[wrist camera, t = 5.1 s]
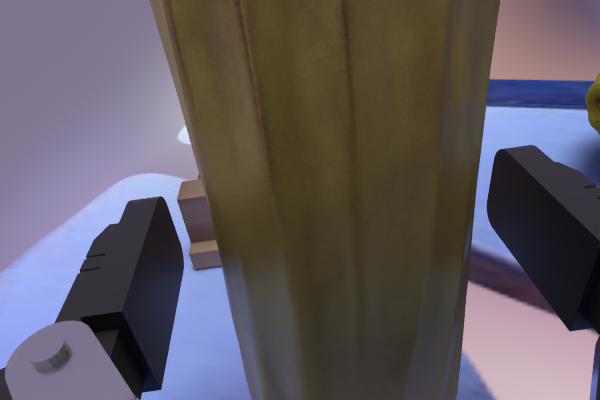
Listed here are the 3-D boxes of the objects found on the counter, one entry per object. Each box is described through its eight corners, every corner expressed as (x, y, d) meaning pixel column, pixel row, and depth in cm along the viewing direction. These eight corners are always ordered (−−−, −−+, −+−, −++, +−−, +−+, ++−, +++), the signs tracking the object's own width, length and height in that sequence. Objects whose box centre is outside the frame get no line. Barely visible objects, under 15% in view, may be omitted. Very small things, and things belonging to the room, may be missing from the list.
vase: (230, 501, 12) (-54, -120, 4) (286, 327, 17) (199, -119, 9) (459, 555, 11) (675, -250, 3) (449, 347, 16) (518, -167, 8)
